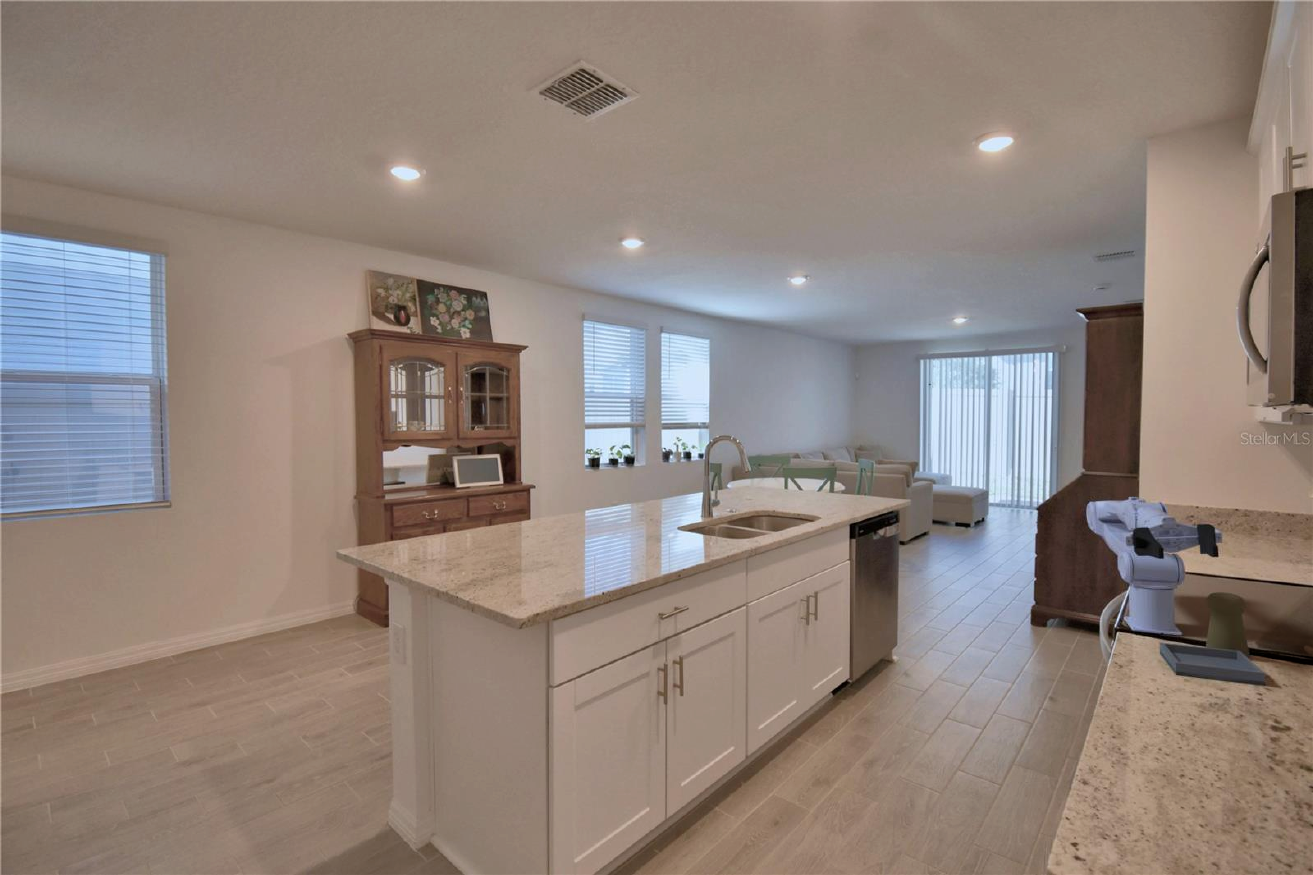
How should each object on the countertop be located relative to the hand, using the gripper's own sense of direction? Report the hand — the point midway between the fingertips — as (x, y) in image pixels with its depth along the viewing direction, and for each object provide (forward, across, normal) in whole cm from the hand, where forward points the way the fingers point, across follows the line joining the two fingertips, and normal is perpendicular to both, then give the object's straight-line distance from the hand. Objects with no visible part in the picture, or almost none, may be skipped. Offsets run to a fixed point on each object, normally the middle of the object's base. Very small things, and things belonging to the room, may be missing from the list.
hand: (1188, 552), depth 110 cm
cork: (-4, +6, +21) cm, 22 cm away
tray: (+6, 0, +19) cm, 20 cm away
